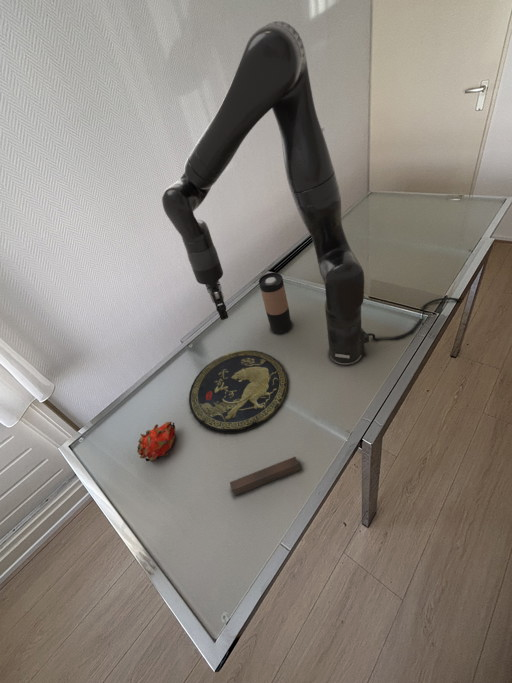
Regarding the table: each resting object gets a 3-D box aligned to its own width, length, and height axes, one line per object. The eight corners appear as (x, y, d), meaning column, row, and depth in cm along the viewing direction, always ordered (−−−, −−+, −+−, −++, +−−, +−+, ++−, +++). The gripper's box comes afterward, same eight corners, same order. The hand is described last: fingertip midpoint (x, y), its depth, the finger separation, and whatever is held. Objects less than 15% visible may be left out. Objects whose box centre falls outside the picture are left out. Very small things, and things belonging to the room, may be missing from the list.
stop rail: (297, 462, 75) (295, 456, 73) (300, 470, 74) (298, 464, 72) (233, 487, 74) (229, 482, 72) (235, 495, 73) (231, 490, 71)
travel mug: (271, 321, 116) (259, 273, 102) (292, 319, 114) (283, 270, 100) (269, 335, 110) (256, 287, 97) (291, 333, 108) (281, 284, 95)
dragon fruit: (145, 469, 85) (179, 437, 92) (154, 471, 78) (191, 437, 85) (125, 444, 84) (162, 414, 91) (133, 444, 77) (171, 412, 84)
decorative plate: (173, 427, 88) (205, 350, 109) (175, 431, 90) (207, 353, 110) (279, 433, 80) (292, 348, 101) (280, 437, 81) (292, 352, 102)
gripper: (224, 269, 79) (239, 319, 89) (213, 247, 89) (228, 294, 100) (195, 279, 78) (214, 328, 89) (187, 255, 89) (205, 302, 99)
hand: (221, 310), depth 94 cm, fingers open, 8 cm apart
